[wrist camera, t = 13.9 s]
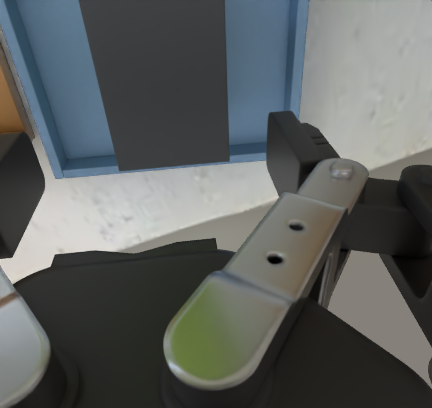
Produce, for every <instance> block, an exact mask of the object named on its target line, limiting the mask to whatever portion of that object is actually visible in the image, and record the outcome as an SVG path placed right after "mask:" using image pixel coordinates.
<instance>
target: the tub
mask: <svg viewBox="0 0 432 408" xmlns="http://www.w3.org/2000/svg"><path fill="white" fill-rule="evenodd" d="M78 1H79V5H80V9H81V14H82V18H83V22H84V26H85V31H86V35H87V39H88V43H89V47H90V52H91V56H92V60H93V64H94V68H95V73H96V77H97V81H98V85H99V89H100V94H101V98H102V102H103V106H104V110H105V115H106V119H107V123H108V127H109V131H110V136H111V140H112V144H113V148H114V153H115V157H116V161H117V165H118V169H119V171H130V170H141V169H152V168H163V167H174V166H185V165H196V164H207V163H218V162H229V161H230V150H229V119H228V87H227V56H226V24H225V0H78Z"/></svg>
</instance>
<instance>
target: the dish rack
mask: <svg viewBox="0 0 432 408" xmlns="http://www.w3.org/2000/svg"><path fill="white" fill-rule="evenodd" d="M20 132H25V133H27V135H28V136H29V137H30V139H31V142H32V141H33V139H34V138H35V136H34V134H33V131H32V128H31V126H30V123H29V120H28V117H27V115H26V112H25V109H24V107H23V104H22V101H21V98H20V96H19V93H18V90H17V88H16V85H15V82H14V79H13V77H12V74H11V71H10V68H9V66H8V63H7V60H6V58H5V55H4V52H3V49H2V47H1V44H0V134H8V133H20Z"/></svg>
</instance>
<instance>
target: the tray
mask: <svg viewBox="0 0 432 408" xmlns="http://www.w3.org/2000/svg"><path fill="white" fill-rule="evenodd" d="M308 7H309V0H225V24H226V56H227V87H228V119H229V150H230V161H229V162H218V163H207V164H196V165H185V166H174V167H163V168H152V169H141V170H130V171H119V169H118V165H117V161H116V157H115V153H114V148H113V144H112V140H111V136H110V131H109V127H108V123H107V119H106V115H105V110H104V106H103V102H102V98H101V94H100V89H99V85H98V81H97V77H96V73H95V68H94V64H93V60H92V56H91V52H90V47H89V43H88V39H87V35H86V31H85V26H84V22H83V18H82V14H81V9H80V5H79V1H78V0H0V25H1V28H2V31H3V34H4V36H5V39H6V42H7V45H8V48H9V50H10V53H11V56H12V59H13V62H14V64H15V67H16V70H17V73H18V76H19V78H20V81H21V84H22V87H23V90H24V92H25V95H26V98H27V101H28V103H29V106H30V109H31V112H32V115H33V117H34V120H35V123H36V126H37V129H38V131H39V134H40V137H41V140H42V143H43V145H44V148H45V151H46V154H47V157H48V159H49V162H50V165H51V168H52V171H53V173H54V176H55V179H61V178H72V177H84V176H95V175H106V174H117V173H128V172H140V171H151V170H162V169H173V168H184V167H196V166H207V165H218V164H229V163H240V162H252V161H263V160H266V148H267V124H268V115H269V113H270V112H277V111H289V110H291V111H292V112H293V113H294V114H295V116H296V117H297V119H298V120H299V109H300V97H301V86H302V75H303V64H304V52H305V41H306V30H307V19H308Z"/></svg>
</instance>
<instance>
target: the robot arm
mask: <svg viewBox="0 0 432 408" xmlns="http://www.w3.org/2000/svg"><path fill="white" fill-rule="evenodd" d="M266 161H267V168H268V171H269V174H270V176H271V178H272V181H273V183H274V185H275V188H276V190H277V193H278V195H279V198H278V200H277V201H276V202H275V204H274V205H273V206H272V208H271V209H270V210H269V211H268V212H267V214H266V215H265V216H264V218H263V219H262V220H261V221H260V223H259V224H258V225H257V226H256V228H255V229H254V230H253V232H252V233H251V234H250V235H249V237H248V238H247V239H246V241H245V242H244V243H243V244H242V246H241V247H240V248H239V249H238V251H237V252H233V251H227V250H220V249H217V244H216V239H215V238H212V239H202V240H194V241H183V242H176V243H172V244H169V245H165V246H162V247H158V248H154V249H151V250H147V251H144V252H140V253H135V254H132V253H119V252H107V251H86V252H76V253H66V254H57V255H55V256H54V259H53V262H52V265H51V267H49V268H46V269H43V270H40V271H38V272H35V273H33V274H31V275H29V276H27V277H25V278H23V279H21V280H19V281H18V282H16V283H15V284H13V285H12V283H11V282H10V280H9V279H8V277H7V276H6V274H5V273H4V271H3V270H2V268H1V266H0V408H432V389H431V388H430V386H429V385H428V384H427V383H426V382H425V381H424V380H423V379H422V378H421V377H420V376H419V375H418V374H417V373H416V372H414V371H413V370H412V369H411V368H409V367H408V366H407V365H406V364H404V363H403V362H402V361H400V360H399V359H397V358H396V357H394V356H393V355H392V354H390V353H389V352H387V351H386V350H384V349H383V348H382V347H380V346H379V345H377V344H376V343H374V342H373V341H371V340H370V339H368V338H367V337H366V336H364V335H363V334H361V333H360V332H358V331H357V330H356V329H354V328H353V327H351V326H350V325H348V324H347V323H346V322H344V321H343V320H341V319H340V318H338V317H337V316H336V315H334V314H332V313H331V312H330V311H328V310H327V308H328V305H329V301H330V298H331V296H332V293H333V291H334V288H335V286H336V284H337V282H338V280H339V277H340V275H341V273H342V271H343V268H344V266H345V264H346V262H347V259H348V257H349V255H350V252H351V250H355V251H364V252H371V253H379V255H380V257H381V259H382V261H383V262H384V264H385V266H386V267H387V270H388V271H389V273H390V275H391V277H392V278H393V280H394V282H395V284H396V285H397V287H398V289H399V290H400V292H401V294H402V296H403V298H404V299H405V301H406V303H407V305H408V306H409V308H410V310H411V312H412V313H413V315H414V317H415V319H416V320H417V322H418V324H419V326H420V327H421V329H422V331H423V333H424V334H425V336H426V338H427V340H428V341H429V343H430V345H431V347H432V166H430V165H412V166H409V167H406V168H405V169H403V171H402V173H401V176H400V179H399V181H395V180H384V179H375V178H369V177H368V176H369V172H368V170H367V169H366V167H364V166H363V165H362V164H360V163H358V162H356V161H353V160H349V159H343V158H340V156H339V155H338V154H337V153H336V151H335V150H334V149H333V147H332V146H331V145H330V144H329V142H328V141H327V140H326V138H324V136H323V134H322V133H321V132H320V131H319V129H317V128H315V127H314V126H312V125H310V124H308V123H303V124H301V123H300V122H299V120H298V119H297V117H296V116H295V114H294V113H293V112H292V111H291V110H289V111H277V112H270V113H269V115H268V124H267V148H266ZM44 189H45V179H44V174H43V172H42V169H41V166H40V163H39V161H38V158H37V155H36V153H35V150H34V147H33V145H32V142H31V139H30V137H29V136H28V135H27V133H25V132H20V133H8V134H0V259H4V258H12V257H13V255H14V253H15V251H16V249H17V247H18V245H19V243H20V240H21V238H22V236H23V234H24V232H25V230H26V228H27V226H28V224H29V222H30V220H31V218H32V215H33V213H34V211H35V209H36V207H37V205H38V203H39V201H40V199H41V197H42V195H43V193H44ZM428 373H429V377H430V380H431V383H432V358H431V360H430V362H429V366H428Z"/></svg>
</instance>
